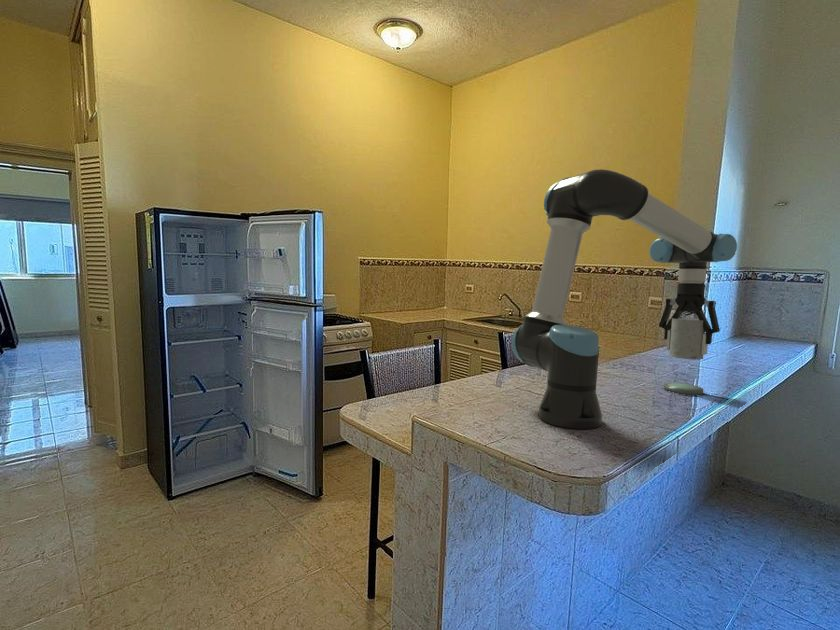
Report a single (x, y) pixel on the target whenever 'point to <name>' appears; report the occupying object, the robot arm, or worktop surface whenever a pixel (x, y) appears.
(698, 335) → the grey marble cylinder
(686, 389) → the pad
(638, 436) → the worktop surface
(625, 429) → the worktop surface
